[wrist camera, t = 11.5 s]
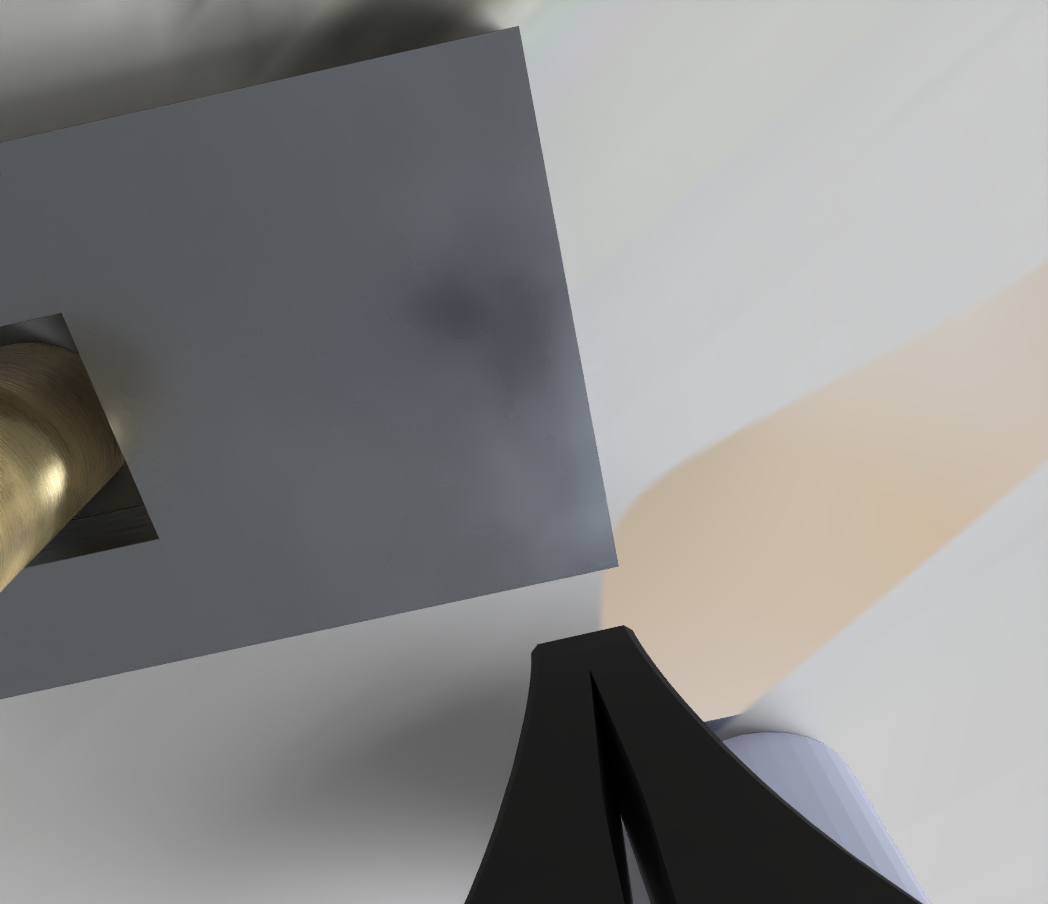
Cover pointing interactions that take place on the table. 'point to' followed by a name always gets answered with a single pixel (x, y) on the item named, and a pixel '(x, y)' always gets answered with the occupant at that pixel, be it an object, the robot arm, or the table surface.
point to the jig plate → (304, 360)
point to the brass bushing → (47, 448)
